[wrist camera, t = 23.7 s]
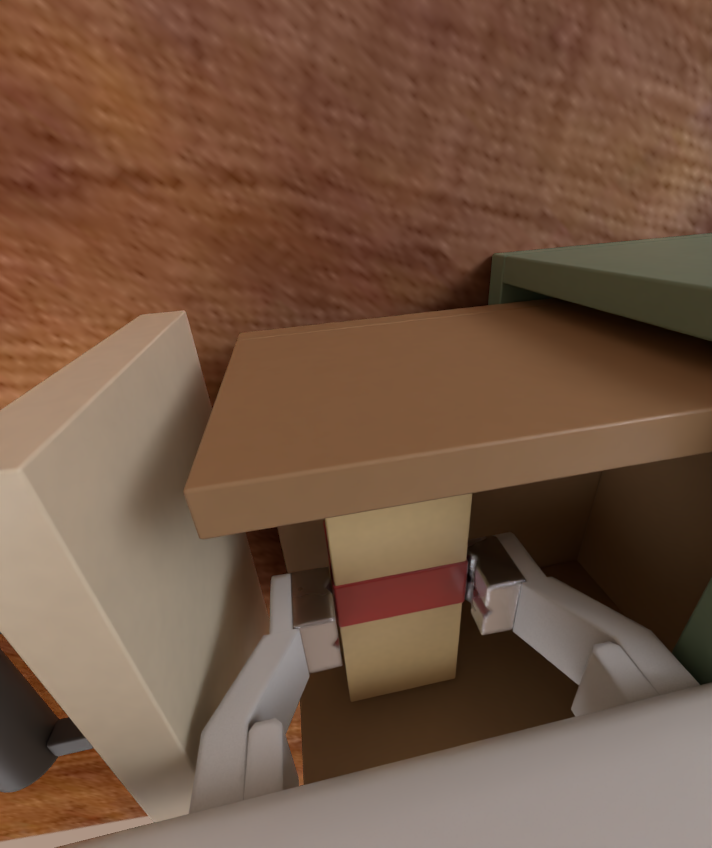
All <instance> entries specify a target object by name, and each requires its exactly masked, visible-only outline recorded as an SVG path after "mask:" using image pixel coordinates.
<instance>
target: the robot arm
mask: <svg viewBox="0 0 712 848" xmlns="http://www.w3.org/2000/svg"><path fill="white" fill-rule="evenodd" d="M467 560H468V572H467V582H466V592H465V599H466V600H467V601H469V602H470V603H471V614H472V616H473V618H474V620H475V622H476V624H477V626H478V628H479V630H480V633H481V635H487V634H492V633H497V632H503V631H508V630H513V632H514V633H515V634H517V635H518V636H519V637H520V638H521V639H523V640H524V641H525V642H526V643H528V644H529V645H530V646H531V647H532V648H534V649H535V650H536V651H537V652H539V653H540V654H541V655H542V656H543V657H545V658H546V659H547V660H548V661H550V662H551V663H552V664H553V665H555V666H556V667H557V668H558V669H559V670H561V671H562V672H563V673H564V674H566V675H567V676H568V677H569V678H570V679H572V680H573V681H574V682H575V683H577V684H578V685H579V687H578V689H577V692H576V695H575V698H574V701H573V704H572V707H571V710H572V712H573V713H574V715H575V717H571V718H567V719H563V720H559V721H555V722H551V723H548V724H544V725H540V726H536V727H532V728H528V729H524V730H520V731H516V732H512V733H508V734H504V735H500V736H496V737H492V738H488V739H484V740H480V741H476V742H472V743H468V744H464V745H460V746H456V747H452V748H448V749H444V750H440V751H436V752H432V753H428V754H424V755H420V756H416V757H412V758H408V759H404V760H400V761H396V762H393V763H389V764H385V765H381V766H377V767H373V768H369V769H365V770H361V771H357V772H353V773H349V774H345V775H341V776H337V777H333V778H329V779H325V780H321V781H317V782H313V783H309V784H305V785H301V786H299V780H298V775H297V771H296V768H295V765H294V762H293V758H292V755H291V752H290V748H289V745H288V742H287V739H286V735H285V734H286V732H287V730H288V727H289V725H290V722H291V720H292V718H293V715H294V713H295V710H296V708H297V705H298V703H299V701H300V698H301V696H302V693H303V691H304V689H305V686H306V684H307V681H308V679H309V677H310V676H309V674H311V673H315V672H319V671H323V670H327V669H331V668H335V667H339V666H342V658H341V651H340V644H339V636H338V629H337V622H336V615H335V607H334V600H333V593H332V587H331V580H330V573H329V567H323V568H316V569H310V570H304V571H297V572H292V573H287V574H281V575H275V576H272V578H271V589H270V627H269V634H267V635H263V637H262V638H261V640H260V641H259V643H258V644H257V646H256V648H255V649H254V651H253V652H252V654H251V655H250V657H249V659H248V660H247V662H246V663H245V665H244V666H243V668H242V670H241V671H240V673H239V674H238V676H237V677H236V679H235V681H234V682H233V684H232V685H231V687H230V688H229V690H228V692H227V693H226V695H225V696H224V698H223V699H222V701H221V703H220V704H219V706H218V707H217V709H216V710H215V712H214V714H213V715H212V717H211V718H210V720H209V721H208V723H207V725H206V726H205V728H204V729H203V731H202V732H201V739H200V745H199V751H198V758H197V764H196V770H195V777H194V783H193V789H192V796H191V802H190V808H189V814H186V815H182V816H179V817H175V818H171V819H167V820H163V821H159V822H155V823H151V824H147V825H143V826H139V827H135V828H131V829H127V830H123V831H119V832H115V833H111V834H107V835H103V836H99V837H95V838H91V839H88V840H83V841H79V842H75V843H72V844H68V845H64V846H60V847H56V848H712V682H710V683H706V684H702V685H700V684H699V683H698V682H697V681H696V680H695V679H694V677H693V676H692V675H691V674H690V673H689V672H688V671H687V670H686V669H685V668H684V666H683V665H682V664H681V663H680V662H679V661H678V660H677V659H676V658H675V656H674V655H673V654H672V653H671V652H670V651H669V650H668V649H667V648H666V646H665V645H664V644H663V643H662V642H661V641H660V640H659V639H658V638H657V637H656V635H655V634H654V633H653V632H652V631H651V630H649V629H647V628H646V627H644V626H642V625H640V624H638V623H636V622H635V621H633V620H631V619H629V618H627V617H625V616H624V615H622V614H620V613H618V612H616V611H614V610H613V609H611V608H609V607H607V606H605V605H603V604H602V603H600V602H598V601H596V600H594V599H592V598H591V597H589V596H587V595H585V594H583V593H581V592H580V591H578V590H576V589H574V588H572V587H570V586H569V585H567V584H565V583H563V582H561V581H559V580H558V579H556V578H554V577H546V575H545V574H544V573H543V572H542V570H541V569H540V568H539V566H538V565H537V564H536V562H535V561H534V560H533V558H532V557H531V556H530V554H529V553H528V552H527V550H526V549H525V548H524V547H523V545H522V544H521V543H520V541H519V540H518V539H517V537H516V536H515V535H514V534H513V533H511V532H507V533H502V534H496V535H493V536H492V535H490V536H485V537H480V538H475V539H470V540H468V547H467Z"/></svg>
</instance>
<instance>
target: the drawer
mask: <svg viewBox="0 0 712 848" xmlns="http://www.w3.org/2000/svg"><path fill="white" fill-rule="evenodd" d="M471 493H472V504H471V515H470V525H469V536H468V540H470V539H475V538H480V537H485V536H490V535H492V536H493V535H496V534H502V533H507V532H511V533H513V534H514V535H515V536H516V537H517V539H518V540H519V541H520V543H521V544H522V545H523V547H524V548H525V549H526V550H527V552H528V553H529V554H530V556H531V557H532V558H533V560H534V561H535V562H536V564H537V565H538V566H539V568H540V569H541V570H542V572H543V573H544V574H545V575H546V577H554V578H556V579H558V580H559V581H561V582H563V583H565V584H567V585H569V586H570V587H572V588H574V589H576V590H578V591H580V592H581V593H583V594H585V595H587V596H589V597H591V598H592V599H594V600H596V601H598V602H600V603H602V604H603V605H605V606H607V607H609V608H611V609H613V610H614V611H616V612H618V613H620V614H622V615H624V616H625V617H627V618H629V619H631V620H633V621H635V622H636V623H638V624H640V625H642V626H644V627H646V628H647V629H649V630H651V631H652V632H653V633H654V634H655V635H656V637H657V638H658V639H659V640H660V641H661V642H662V643H663V644H664V645H665V646H666V648H667V649H668V650H669V651H670V652H671V653H672V651H673V649H674V647H675V645H676V643H677V641H678V639H679V637H680V636H681V634H682V632H683V630H684V628H685V626H686V624H687V622H688V620H689V619H690V617H691V615H692V613H693V611H694V609H695V607H696V605H697V603H698V602H699V600H700V598H701V596H702V594H703V592H704V590H705V588H706V586H707V585H708V583H709V581H710V579H711V577H712V341H708V340H705V339H701V338H697V337H694V336H690V335H687V334H683V333H680V332H676V331H672V330H669V329H665V328H662V327H658V326H654V325H651V324H647V323H644V322H640V321H637V320H633V319H629V318H626V317H622V316H619V315H615V314H611V313H608V312H604V311H601V310H597V309H594V308H590V307H586V306H583V305H579V304H576V303H572V302H568V301H565V300H561V299H558V298H549V299H540V300H531V301H522V302H513V303H504V304H495V305H486V306H477V307H468V308H459V309H450V310H441V311H432V312H423V313H414V314H405V315H396V316H387V317H378V318H369V319H360V320H351V321H342V322H333V323H324V324H315V325H306V326H297V327H288V328H279V329H270V330H261V331H252V332H243V333H239V335H238V338H237V341H236V344H235V347H234V349H233V352H232V355H231V358H230V361H229V363H228V366H227V369H226V372H225V375H224V378H223V380H222V383H221V386H220V389H219V392H218V394H217V397H216V400H215V403H214V406H213V408H212V406H211V403H210V399H209V395H208V392H207V388H206V384H205V381H204V377H203V373H202V370H201V366H200V362H199V359H198V355H197V351H196V347H195V344H194V340H193V336H192V333H191V329H190V325H189V322H188V318H187V314H186V312H185V311H184V310H182V311H173V312H163V313H153V314H143V315H140V316H138V317H137V318H135V319H134V320H132V321H131V322H129V323H128V324H127V325H125V326H124V327H122V328H121V329H119V330H118V331H116V332H115V333H113V334H112V335H110V336H109V337H107V338H106V339H104V340H103V341H101V342H100V343H99V344H97V345H96V346H94V347H93V348H91V349H90V350H88V351H87V352H85V353H84V354H82V355H81V356H79V357H78V358H76V359H75V360H73V361H72V362H71V363H69V364H68V365H66V366H65V367H63V368H62V369H60V370H59V371H57V372H56V373H54V374H53V375H51V376H50V377H48V378H47V379H45V380H44V381H43V382H41V383H40V384H38V385H37V386H35V387H34V388H32V389H31V390H29V391H28V392H26V393H25V394H23V395H22V396H20V397H19V398H17V399H16V400H15V401H13V402H12V403H10V404H9V405H7V406H6V407H4V408H3V409H1V410H0V634H3V636H4V637H5V638H6V639H7V641H8V642H9V643H10V644H11V646H12V647H13V648H14V649H15V651H16V652H17V653H18V654H19V656H20V657H21V658H22V659H23V661H24V662H25V663H26V664H27V666H28V667H29V668H30V669H31V671H32V672H33V673H34V674H35V676H36V677H37V678H38V679H39V680H40V682H41V683H42V684H43V685H44V687H45V688H46V689H47V690H48V692H49V693H50V694H51V695H52V697H53V698H54V699H55V700H56V702H57V703H58V704H59V705H60V707H61V708H62V709H63V710H64V712H65V713H66V714H67V715H68V718H64V719H58V717H57V716H56V715H55V714H54V713H53V711H52V710H51V709H50V708H49V707H48V705H47V704H46V703H45V702H44V701H43V699H42V698H41V697H40V696H39V695H38V693H37V692H36V691H35V690H34V689H33V687H32V686H31V685H30V684H29V683H28V681H27V680H26V679H25V678H24V677H23V675H22V674H21V673H20V672H19V671H18V669H17V668H16V667H15V666H14V664H13V663H12V662H11V661H10V660H9V658H8V657H7V656H6V655H5V654H4V652H3V651H2V650H1V649H0V791H1V792H14V791H18V790H21V789H23V788H25V787H27V786H29V785H30V784H32V783H34V782H35V781H36V780H38V779H39V778H40V777H41V776H42V775H43V774H44V773H45V772H46V771H47V770H48V769H49V768H50V767H51V766H52V765H53V763H54V762H55V761H56V759H57V758H58V756H62V755H66V754H70V753H75V752H79V751H84V750H88V749H92V748H94V749H95V750H96V751H97V753H98V754H99V755H100V756H101V758H102V759H103V760H104V761H105V763H106V764H107V765H108V766H109V767H110V769H111V770H112V771H113V772H114V774H115V775H116V776H117V777H118V779H119V780H120V781H121V782H122V784H123V785H124V786H125V787H126V789H127V790H128V791H129V792H130V794H131V795H132V796H133V797H134V799H135V800H136V801H137V802H138V804H139V805H140V806H141V807H142V809H143V810H144V811H145V812H146V813H147V815H148V816H149V817H150V818H151V820H152V821H153V822H154V823H155V822H159V821H163V820H167V819H171V818H175V817H179V816H182V815H186V814H189V808H190V802H191V796H192V789H193V783H194V777H195V770H196V764H197V758H198V751H199V745H200V739H201V732H202V731H203V729H204V728H205V726H206V725H207V723H208V721H209V720H210V718H211V717H212V715H213V714H214V712H215V710H216V709H217V707H218V706H219V704H220V703H221V701H222V699H223V698H224V696H225V695H226V693H227V692H228V690H229V688H230V687H231V685H232V684H233V682H234V681H235V679H236V677H237V676H238V674H239V673H240V671H241V670H242V668H243V666H244V665H245V663H246V662H247V660H248V659H249V657H250V655H251V654H252V652H253V651H254V649H255V648H256V646H257V644H258V643H259V641H260V640H261V638H262V637H263V635H267V634H269V627H270V620H269V616H268V612H267V609H266V605H265V601H264V598H263V594H262V590H261V586H260V583H259V579H258V575H257V572H256V568H255V564H254V561H253V557H252V553H251V550H250V546H249V542H248V539H247V535H246V532H250V531H256V530H262V529H267V528H273V527H277V529H278V534H279V538H280V543H281V548H282V552H283V557H284V561H285V566H286V570H287V573H292V572H297V571H304V570H310V569H316V568H323V567H329V560H328V553H327V546H326V539H325V532H324V525H323V521H324V519H326V518H331V517H337V516H343V515H349V514H355V513H360V512H366V511H372V510H378V509H384V508H390V507H395V506H401V505H407V504H413V503H419V502H424V501H430V500H436V499H442V498H448V497H453V496H459V495H465V494H471ZM329 573H330V567H329ZM330 580H331V574H330ZM331 587H332V581H331ZM332 593H333V588H332ZM333 600H334V595H333ZM334 607H335V602H334ZM335 615H336V609H335ZM336 622H337V616H336ZM337 629H338V636H339V644H340V651H341V658H342V666H339V667H335V668H331V669H327V670H323V671H319V672H315V673H311V674H309V676H310V677H309V679H308V681H307V684H306V686H305V689H304V691H303V693H302V696H301V698H300V709H301V732H302V755H303V778H304V785H305V784H309V783H313V782H317V781H321V780H325V779H329V778H333V777H337V776H341V775H345V774H349V773H353V772H357V771H361V770H365V769H369V768H373V767H377V766H381V765H385V764H389V763H393V762H396V761H400V760H404V759H408V758H412V757H416V756H420V755H424V754H428V753H432V752H436V751H440V750H444V749H448V748H452V747H456V746H460V745H464V744H468V743H472V742H476V741H480V740H484V739H488V738H492V737H496V736H500V735H504V734H508V733H512V732H516V731H520V730H524V729H528V728H532V727H536V726H540V725H544V724H548V723H551V722H555V721H559V720H563V719H567V718H571V717H575V715H574V713H573V712H572V710H571V707H572V704H573V701H574V698H575V695H576V692H577V689H578V687H579V685H578V684H577V683H575V682H574V681H573V680H572V679H570V678H569V677H568V676H567V675H566V674H564V673H563V672H562V671H561V670H559V669H558V668H557V667H556V666H555V665H553V664H552V663H551V662H550V661H548V660H547V659H546V658H545V657H543V656H542V655H541V654H540V653H539V652H537V651H536V650H535V649H534V648H532V647H531V646H530V645H529V644H528V643H526V642H525V641H524V640H523V639H521V638H520V637H519V636H518V635H517V634H515V633H514V632H513V630H508V631H503V632H497V633H492V634H487V635H481V633H480V630H479V628H478V626H477V624H476V622H475V620H474V618H473V616H472V614H471V603H470V602H469V601H467V600H466V599H465V601H464V602H463V603H462V611H461V622H460V633H459V643H458V654H457V665H456V676H455V678H454V679H450V680H446V681H441V682H437V683H432V684H428V685H424V686H419V687H415V688H411V689H406V690H402V691H398V692H393V693H389V694H385V695H380V696H376V697H372V698H367V699H363V700H358V701H354V702H351V701H350V696H349V689H348V682H347V675H346V668H345V661H344V655H343V648H342V641H341V634H340V627H339V626H338V623H337Z"/></svg>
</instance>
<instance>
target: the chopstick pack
mask: <svg viewBox="0 0 712 848" xmlns="http://www.w3.org/2000/svg"><path fill="white" fill-rule="evenodd" d="M471 504H472V493H471V494H465V495H459V496H453V497H448V498H442V499H436V500H430V501H424V502H419V503H413V504H407V505H401V506H395V507H390V508H384V509H378V510H372V511H366V512H360V513H355V514H349V515H343V516H337V517H331V518H326V519H324V521H323V525H324V532H325V539H326V546H327V553H328V560H329V567H330V574H331V581H332V588H333V595H334V602H335V609H336V616H337V623H338V626H339V627H340V634H341V641H342V648H343V655H344V661H345V668H346V675H347V682H348V689H349V696H350V701H351V702H354V701H358V700H363V699H367V698H372V697H376V696H380V695H385V694H389V693H393V692H398V691H402V690H406V689H411V688H415V687H419V686H424V685H428V684H432V683H437V682H441V681H446V680H450V679H454V678H455V676H456V665H457V654H458V643H459V633H460V622H461V611H462V603H463V602H464V601H465V592H466V582H467V572H468V560H467V547H468V536H469V525H470V515H471Z"/></svg>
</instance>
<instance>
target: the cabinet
mask: <svg viewBox="0 0 712 848" xmlns="http://www.w3.org/2000/svg"><path fill="white" fill-rule="evenodd" d="M549 298H558V299H561V300H565V301H568V302H572V303H576V304H579V305H583V306H586V307H590V308H594V309H597V310H601V311H604V312H608V313H611V314H615V315H619V316H622V317H626V318H629V319H633V320H637V321H640V322H644V323H647V324H651V325H654V326H658V327H662V328H665V329H669V330H672V331H676V332H680V333H683V334H687V335H690V336H694V337H697V338H701V339H705V340H708V341H712V233H707V234H697V235H686V236H676V237H665V238H654V239H644V240H633V241H622V242H612V243H601V244H591V245H580V246H569V247H559V248H548V249H537V250H527V251H516V252H506V253H495V254H493V256H492V266H491V277H490V288H489V299H488V305H495V304H504V303H513V302H522V301H531V300H540V299H549ZM672 654H673V655H674V656H675V658H676V659H677V660H678V661H679V662H680V663H681V664H682V665H683V666H684V668H685V669H686V670H687V671H688V672H689V673H690V674H691V675H692V676H693V677H694V679H695V680H696V681H697V682H698V683H699V684H700V685H702V684H706V683H710V682H712V577H711V579H710V581H709V583H708V585H707V586H706V588H705V590H704V592H703V594H702V596H701V598H700V600H699V602H698V603H697V605H696V607H695V609H694V611H693V613H692V615H691V617H690V619H689V620H688V622H687V624H686V626H685V628H684V630H683V632H682V634H681V636H680V637H679V639H678V641H677V643H676V645H675V647H674V649H673V651H672Z"/></svg>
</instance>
